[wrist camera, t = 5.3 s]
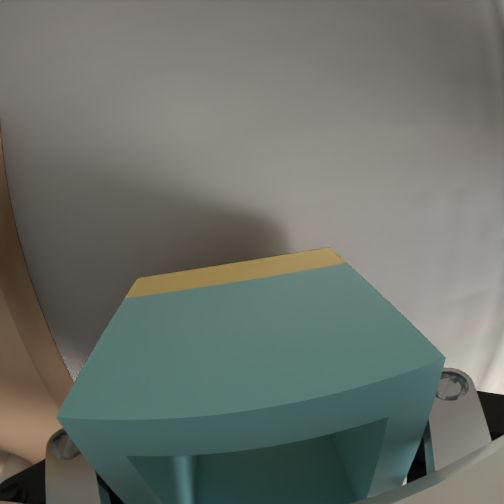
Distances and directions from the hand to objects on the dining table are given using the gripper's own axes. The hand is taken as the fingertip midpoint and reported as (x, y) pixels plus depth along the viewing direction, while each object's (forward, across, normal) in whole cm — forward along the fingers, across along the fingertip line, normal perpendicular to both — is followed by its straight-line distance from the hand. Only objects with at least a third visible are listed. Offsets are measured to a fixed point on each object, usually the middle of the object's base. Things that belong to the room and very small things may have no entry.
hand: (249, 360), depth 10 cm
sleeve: (+1, 0, 0) cm, 1 cm away
